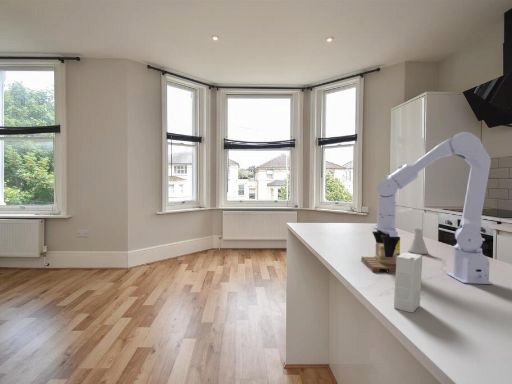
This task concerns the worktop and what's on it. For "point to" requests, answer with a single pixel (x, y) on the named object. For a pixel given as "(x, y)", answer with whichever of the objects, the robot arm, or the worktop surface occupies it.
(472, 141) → the robot arm
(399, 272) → the skincare box
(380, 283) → the worktop surface
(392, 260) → the cardboard box
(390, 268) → the pallet
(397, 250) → the supplement bottle
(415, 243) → the flask
